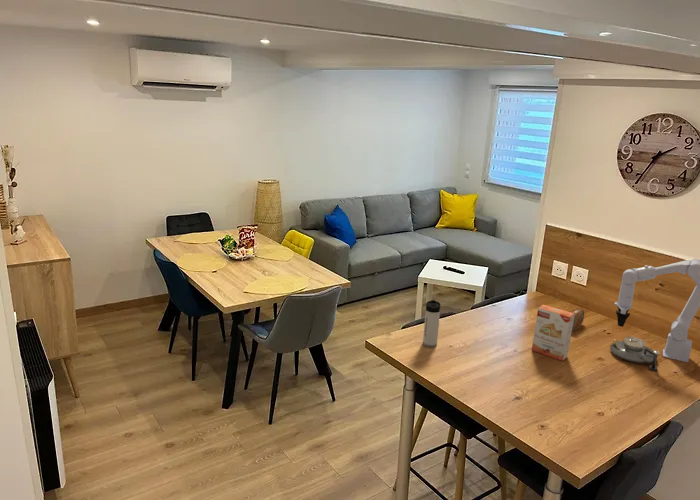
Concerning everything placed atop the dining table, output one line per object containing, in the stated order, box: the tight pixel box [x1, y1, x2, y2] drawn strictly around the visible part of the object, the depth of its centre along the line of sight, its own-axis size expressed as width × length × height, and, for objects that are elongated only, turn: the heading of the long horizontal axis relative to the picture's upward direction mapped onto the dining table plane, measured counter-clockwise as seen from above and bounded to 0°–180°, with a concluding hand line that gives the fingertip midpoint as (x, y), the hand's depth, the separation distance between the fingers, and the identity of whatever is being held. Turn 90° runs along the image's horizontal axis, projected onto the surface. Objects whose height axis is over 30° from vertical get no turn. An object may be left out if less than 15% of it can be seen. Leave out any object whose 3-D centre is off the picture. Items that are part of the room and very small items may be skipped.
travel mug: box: [422, 299, 441, 348], centre depth 233 cm, size 6×7×20 cm
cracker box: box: [531, 304, 575, 362], centre depth 228 cm, size 14×6×21 cm, turn 49°
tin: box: [571, 308, 585, 331], centre depth 258 cm, size 15×3×8 cm, turn 136°
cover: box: [623, 336, 646, 351], centre depth 234 cm, size 8×8×4 cm
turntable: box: [609, 338, 654, 364], centre depth 231 cm, size 18×18×4 cm
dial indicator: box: [644, 348, 661, 372], centre depth 222 cm, size 6×6×8 cm
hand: (620, 323), depth 242 cm, fingers open, 7 cm apart
